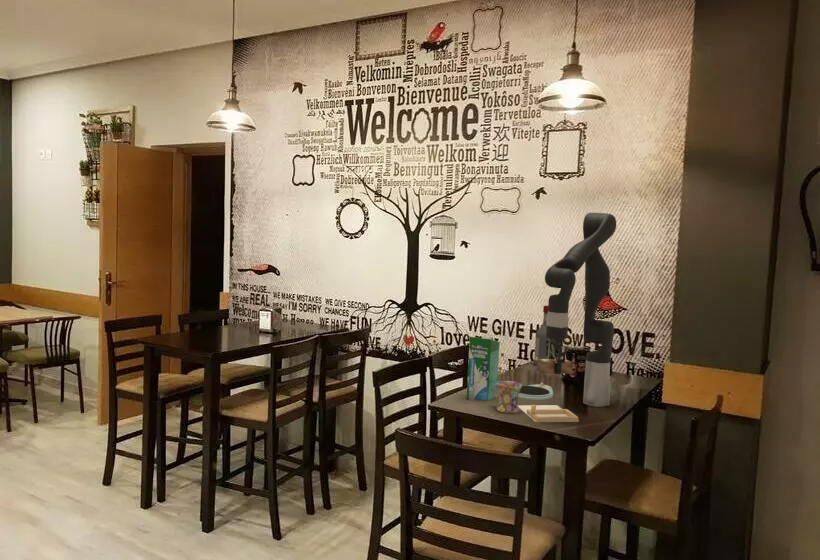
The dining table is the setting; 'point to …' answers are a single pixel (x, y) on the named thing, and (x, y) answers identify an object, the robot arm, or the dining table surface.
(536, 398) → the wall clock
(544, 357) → the liquor
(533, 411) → the wooden tray
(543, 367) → the brown wooden block
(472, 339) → the milk carton
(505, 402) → the mug
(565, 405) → the dining table surface
